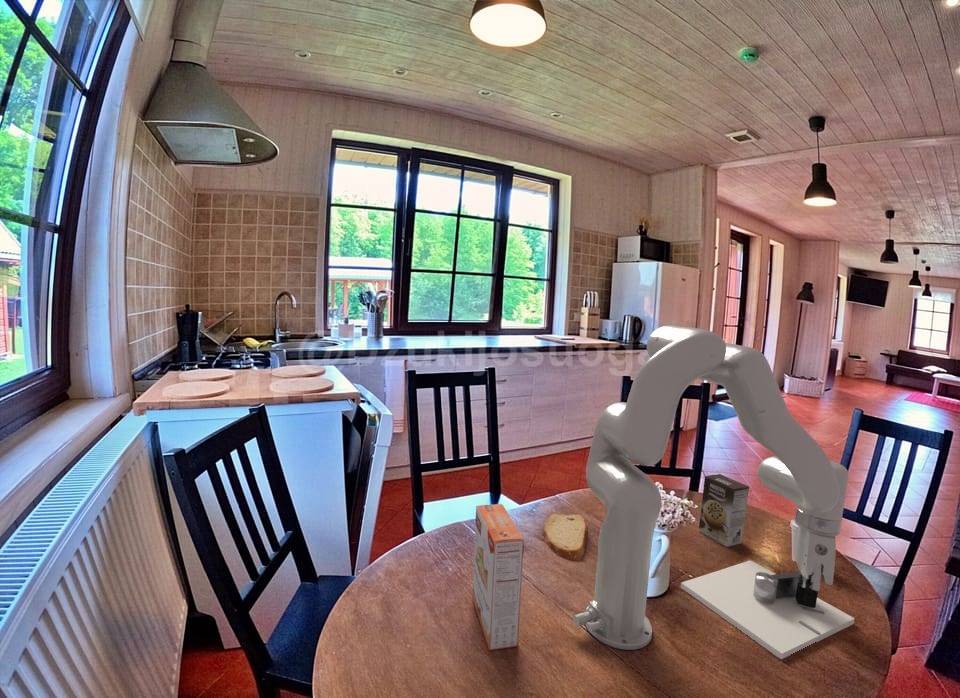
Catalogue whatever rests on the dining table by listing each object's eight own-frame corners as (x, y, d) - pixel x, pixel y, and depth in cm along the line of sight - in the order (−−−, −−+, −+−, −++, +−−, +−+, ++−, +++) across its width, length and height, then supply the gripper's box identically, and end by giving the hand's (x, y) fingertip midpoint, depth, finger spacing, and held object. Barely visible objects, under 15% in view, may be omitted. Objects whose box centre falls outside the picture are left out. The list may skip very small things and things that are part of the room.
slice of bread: (571, 564, 110) (572, 550, 110) (520, 532, 124) (521, 518, 124) (617, 543, 121) (619, 529, 120) (566, 515, 135) (567, 503, 135)
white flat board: (781, 659, 83) (782, 652, 83) (680, 587, 102) (681, 581, 102) (853, 623, 93) (854, 617, 93) (749, 564, 113) (750, 559, 113)
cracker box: (470, 600, 95) (475, 504, 92) (498, 597, 96) (503, 502, 94) (486, 652, 81) (492, 540, 79) (519, 648, 83) (526, 538, 80)
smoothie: (787, 564, 114) (794, 510, 113) (784, 551, 120) (791, 500, 118) (818, 572, 111) (826, 517, 110) (814, 559, 117) (821, 506, 115)
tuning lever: (763, 604, 95) (766, 584, 95) (748, 592, 99) (751, 572, 99) (812, 598, 98) (815, 578, 98) (796, 586, 102) (798, 567, 102)
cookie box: (697, 531, 129) (703, 475, 127) (713, 527, 131) (719, 472, 129) (726, 547, 120) (733, 488, 119) (743, 543, 123) (750, 485, 121)
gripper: (852, 542, 86) (837, 633, 88) (829, 510, 99) (817, 589, 101) (804, 532, 89) (791, 619, 91) (788, 502, 102) (777, 579, 104)
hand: (805, 603), depth 96 cm, fingers closed
